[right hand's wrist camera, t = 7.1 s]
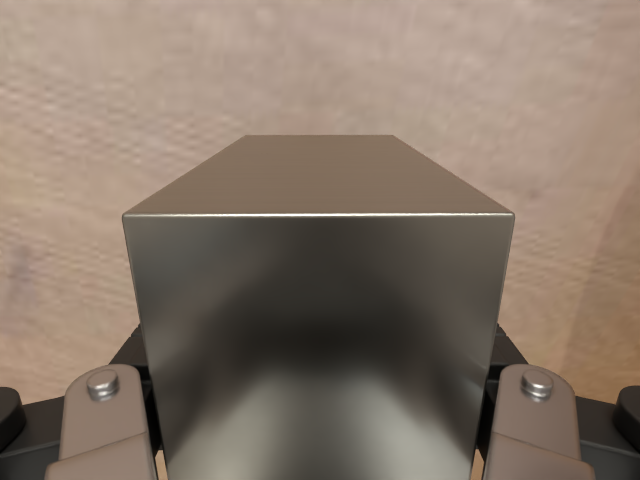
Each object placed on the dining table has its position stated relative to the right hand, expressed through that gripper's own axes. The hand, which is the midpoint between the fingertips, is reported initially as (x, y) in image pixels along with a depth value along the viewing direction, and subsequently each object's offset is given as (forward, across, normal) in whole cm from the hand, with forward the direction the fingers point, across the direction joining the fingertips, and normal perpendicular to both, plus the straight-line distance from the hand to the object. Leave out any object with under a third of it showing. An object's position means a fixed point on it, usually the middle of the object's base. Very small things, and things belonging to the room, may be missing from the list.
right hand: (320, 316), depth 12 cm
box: (+7, 0, -8) cm, 10 cm away
